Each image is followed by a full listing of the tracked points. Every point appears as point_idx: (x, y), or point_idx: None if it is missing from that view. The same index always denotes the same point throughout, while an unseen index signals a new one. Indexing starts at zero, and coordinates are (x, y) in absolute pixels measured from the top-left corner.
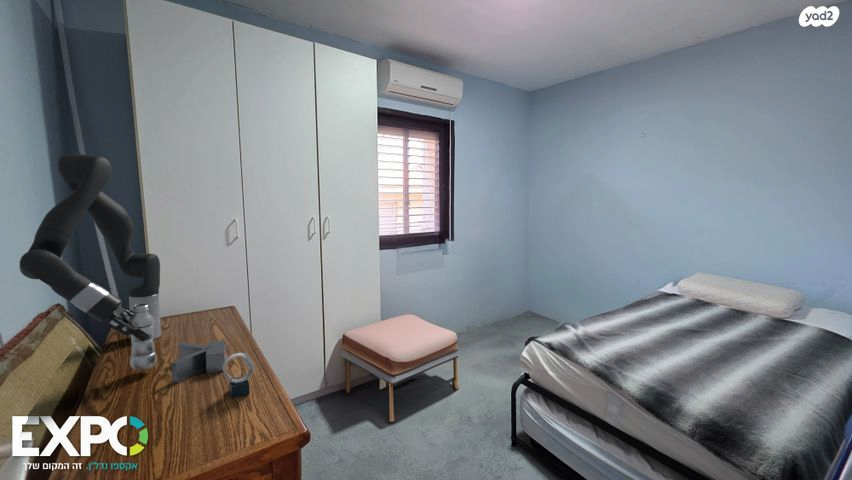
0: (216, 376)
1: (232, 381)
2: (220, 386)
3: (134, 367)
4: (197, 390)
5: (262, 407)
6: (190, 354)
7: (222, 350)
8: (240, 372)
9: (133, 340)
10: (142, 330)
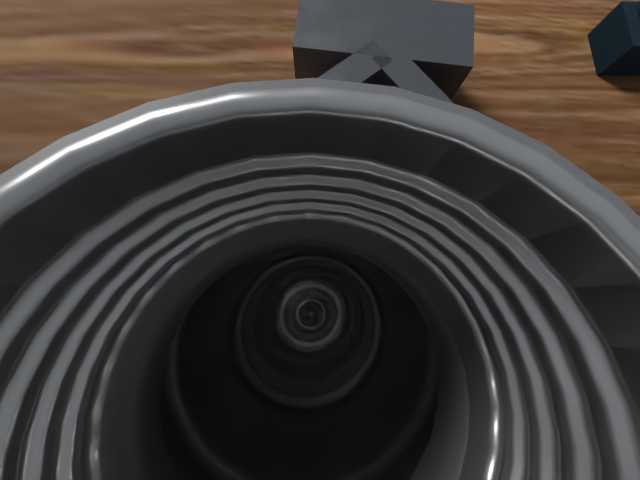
0: (474, 97)
1: None
2: (560, 93)
3: (345, 349)
4: (561, 152)
5: None
6: None
7: (444, 8)
8: (477, 34)
9: (357, 383)
10: (418, 320)
